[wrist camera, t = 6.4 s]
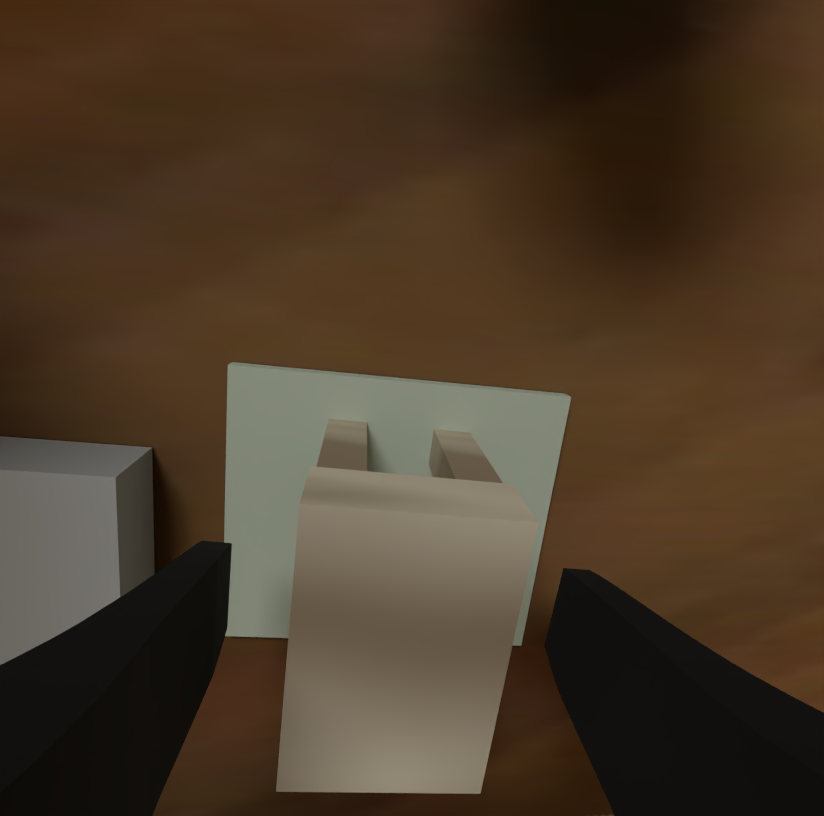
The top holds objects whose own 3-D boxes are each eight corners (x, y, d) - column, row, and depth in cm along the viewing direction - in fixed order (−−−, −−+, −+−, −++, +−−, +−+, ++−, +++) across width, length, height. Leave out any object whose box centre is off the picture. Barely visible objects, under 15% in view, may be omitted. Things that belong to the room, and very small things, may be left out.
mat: (232, 362, 13) (227, 365, 12) (565, 393, 14) (571, 397, 13) (225, 626, 15) (222, 635, 14) (517, 636, 16) (521, 645, 15)
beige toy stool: (441, 618, 15) (480, 793, 10) (307, 611, 14) (276, 791, 9) (474, 429, 13) (538, 522, 8) (325, 414, 13) (299, 503, 8)
